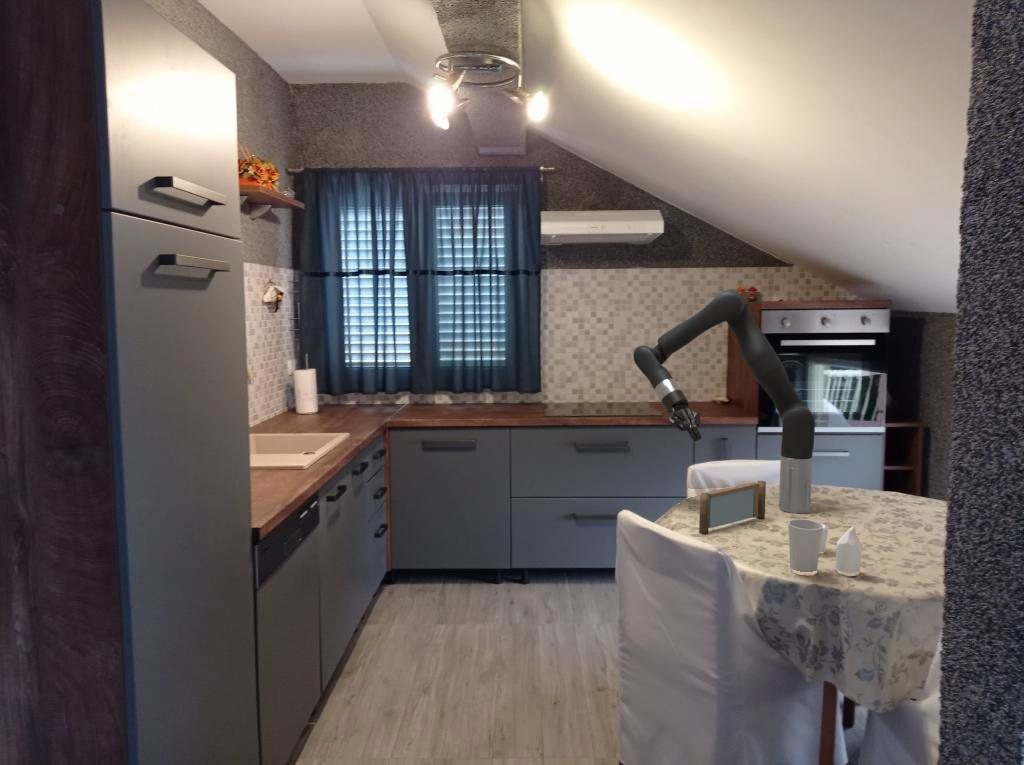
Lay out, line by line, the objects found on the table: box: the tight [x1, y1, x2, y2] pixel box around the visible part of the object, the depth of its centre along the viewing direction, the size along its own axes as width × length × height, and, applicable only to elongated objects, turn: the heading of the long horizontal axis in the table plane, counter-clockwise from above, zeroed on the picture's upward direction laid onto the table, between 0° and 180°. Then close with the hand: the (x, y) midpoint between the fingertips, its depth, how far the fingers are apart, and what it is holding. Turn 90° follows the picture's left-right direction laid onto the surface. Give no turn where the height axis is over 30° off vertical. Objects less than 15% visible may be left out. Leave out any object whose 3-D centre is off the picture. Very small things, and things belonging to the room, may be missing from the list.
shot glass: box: [819, 522, 829, 553], centre depth 187 cm, size 7×7×7 cm
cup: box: [787, 518, 823, 572], centre depth 173 cm, size 8×8×12 cm
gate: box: [706, 482, 759, 529], centre depth 207 cm, size 20×2×10 cm, turn 121°
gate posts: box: [698, 480, 767, 535], centre depth 207 cm, size 27×3×11 cm, turn 121°
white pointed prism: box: [834, 525, 863, 573], centre depth 172 cm, size 6×12×6 cm
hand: (698, 439), depth 218 cm, fingers closed
